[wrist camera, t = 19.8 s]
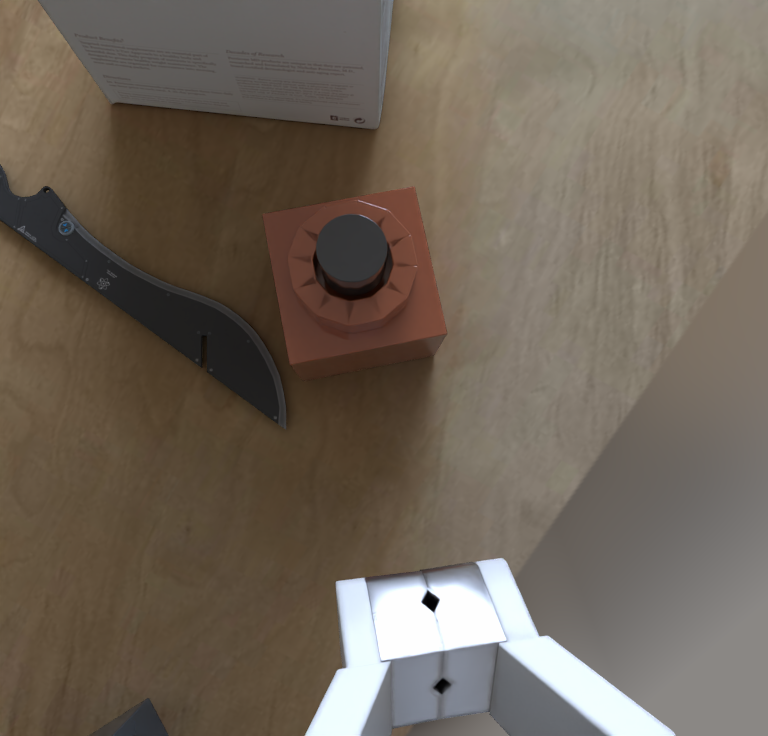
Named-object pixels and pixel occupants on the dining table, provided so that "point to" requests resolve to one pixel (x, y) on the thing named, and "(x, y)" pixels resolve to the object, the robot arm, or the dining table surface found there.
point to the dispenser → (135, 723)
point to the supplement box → (236, 55)
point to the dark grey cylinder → (352, 254)
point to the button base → (355, 313)
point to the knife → (152, 300)
